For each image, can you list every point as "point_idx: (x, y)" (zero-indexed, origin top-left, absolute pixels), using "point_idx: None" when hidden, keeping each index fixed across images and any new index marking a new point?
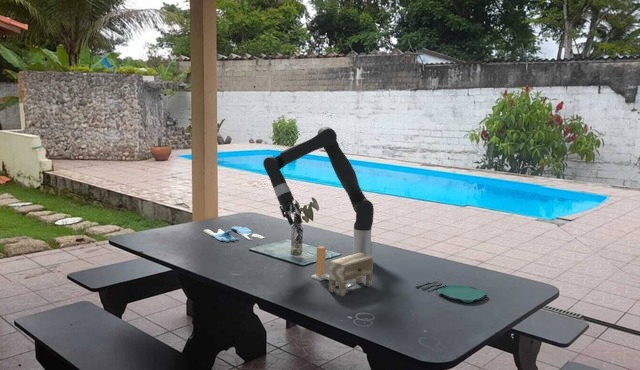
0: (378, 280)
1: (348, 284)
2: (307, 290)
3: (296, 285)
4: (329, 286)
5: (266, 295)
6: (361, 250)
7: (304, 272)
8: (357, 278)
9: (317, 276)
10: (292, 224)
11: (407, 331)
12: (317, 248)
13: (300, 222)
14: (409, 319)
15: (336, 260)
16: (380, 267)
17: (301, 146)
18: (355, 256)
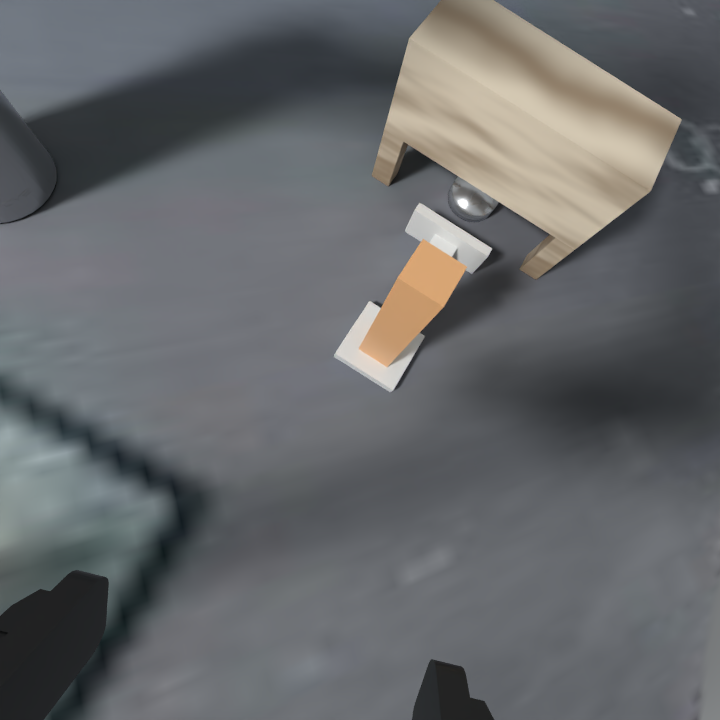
0: (331, 102)
1: (470, 201)
2: (563, 368)
3: (526, 435)
4: (550, 266)
5: (695, 532)
6: (6, 116)
7: (319, 452)
8: (397, 166)
9: (398, 357)
10: (424, 683)
11: (715, 48)
12: (444, 303)
13: (98, 609)
14: (643, 36)
15: (624, 155)
16: (125, 90)
17: None
18: (501, 61)
